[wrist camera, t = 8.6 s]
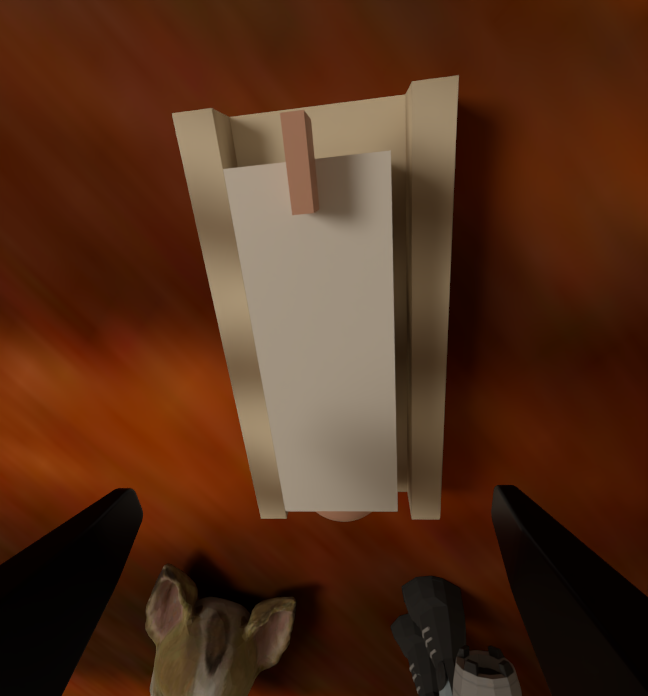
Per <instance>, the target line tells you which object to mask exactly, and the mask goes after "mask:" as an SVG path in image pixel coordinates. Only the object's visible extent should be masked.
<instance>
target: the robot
mask: <svg viewBox="0 0 648 696" xmlns="http://www.w3.org/2000/svg"><path fill="white" fill-rule="evenodd" d="M402 592H403V597H404V602H405V603H406V606H407V609H408V612H409V613H408V614H405V615H402V616H399V617H398V618H397V619H396V621H395V622H394V623H393V624H392V625H391V630H392V633H393V636H394V639H395V640H396V641H397V643H398V644H399V646H400V648H401V650H402V652H403V654H404V656H405V657H406V658H408V660H409V665H410V671H411V673H412V676H413V680H414V682H415V686H416V689H417V692H418V694H419V696H522V693H521V688H520V684H519V681H518V678H517V675H516V671H515V668H514V666H513V664H512V663H511V662H509V661H508V660H507V659H506V658H505V657H504V656H503V654H502V652H501V650H500V649H498V648H496V647H493V646H489V647H488V650H489V652H487V651H479V650H473V651H469V646H466V626H465V615H464V609H463V603H462V598H461V591H460V588H458V587H457V586H455V585H453V584H451V583H449V582H448V581H446V580H444V579H442V578H438V577H434V576H425V577H416V578H414V579H413V580H411V581H409V582H408V583H406V584H405V585H403V586H402Z"/></svg>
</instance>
